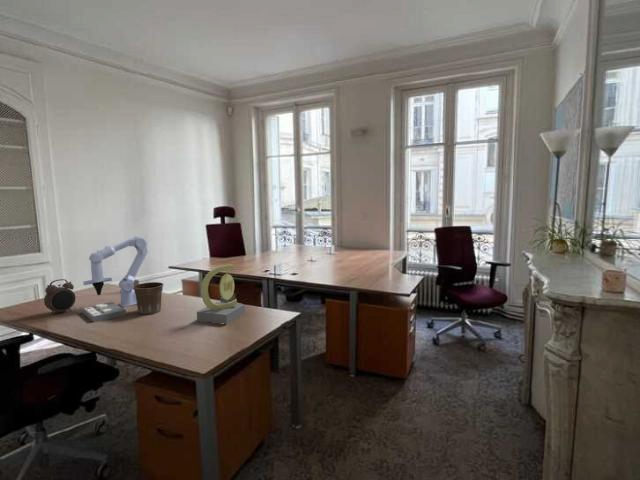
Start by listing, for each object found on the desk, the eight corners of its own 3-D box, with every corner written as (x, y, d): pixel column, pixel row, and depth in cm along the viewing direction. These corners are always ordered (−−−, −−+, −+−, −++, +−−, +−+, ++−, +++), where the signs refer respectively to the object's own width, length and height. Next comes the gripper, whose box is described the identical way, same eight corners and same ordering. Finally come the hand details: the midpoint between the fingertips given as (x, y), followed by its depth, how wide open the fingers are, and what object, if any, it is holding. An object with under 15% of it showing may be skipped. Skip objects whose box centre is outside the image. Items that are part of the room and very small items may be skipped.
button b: (106, 309, 204) (105, 304, 204) (108, 310, 202) (107, 305, 201) (99, 311, 201) (98, 305, 201) (100, 312, 199) (100, 307, 198)
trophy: (226, 325, 182) (224, 269, 179) (197, 321, 188) (194, 267, 184) (244, 314, 200) (243, 263, 196) (217, 311, 205) (215, 261, 202)
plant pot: (170, 307, 213) (168, 282, 211) (155, 316, 197) (153, 288, 195) (145, 307, 214) (143, 281, 212) (128, 315, 198) (126, 288, 196)
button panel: (112, 306, 216) (112, 301, 215) (126, 314, 199) (125, 309, 199) (82, 312, 204) (81, 307, 204) (94, 322, 188) (93, 316, 187)
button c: (110, 313, 200) (109, 308, 199) (112, 315, 197) (112, 309, 197) (102, 315, 197) (102, 309, 196) (104, 316, 194) (104, 311, 194)
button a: (102, 308, 209) (102, 303, 209) (104, 310, 206) (104, 304, 206) (95, 310, 206) (95, 305, 206) (97, 311, 204) (97, 306, 203)
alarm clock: (50, 317, 197) (47, 283, 195) (44, 315, 200) (41, 281, 198) (78, 310, 209) (75, 277, 207) (72, 308, 213) (69, 276, 211)
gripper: (84, 275, 199) (86, 298, 201) (112, 271, 210) (114, 293, 211) (81, 273, 204) (83, 296, 206) (109, 270, 215) (110, 291, 216)
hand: (98, 294), depth 209 cm, fingers closed
